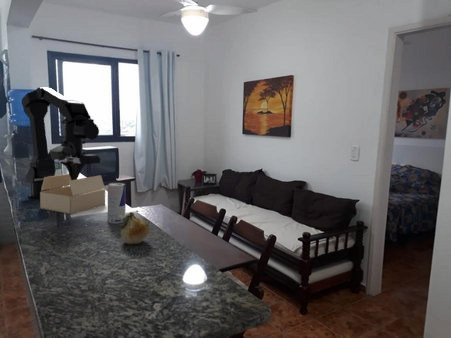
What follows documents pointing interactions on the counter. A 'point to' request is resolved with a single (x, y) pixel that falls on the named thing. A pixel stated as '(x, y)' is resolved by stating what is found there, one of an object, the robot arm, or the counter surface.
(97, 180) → the flap
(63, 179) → the flap
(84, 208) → the carton
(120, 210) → the energy drink
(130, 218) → the onion
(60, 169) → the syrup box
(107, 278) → the counter surface
